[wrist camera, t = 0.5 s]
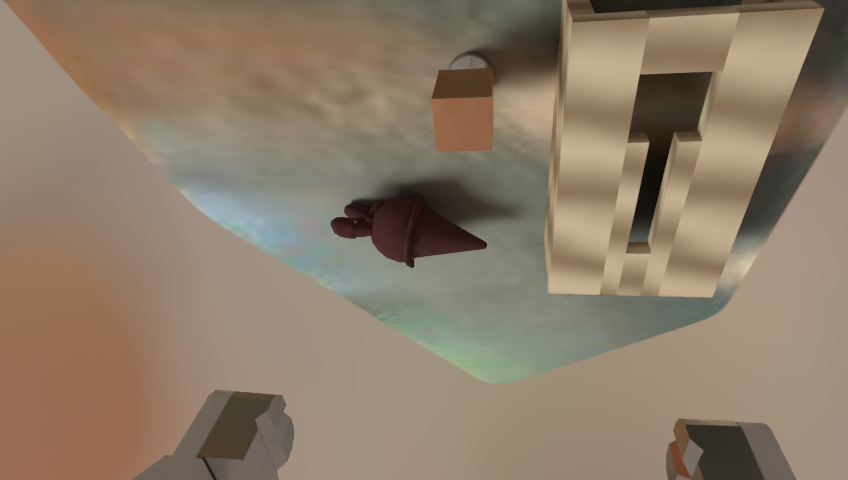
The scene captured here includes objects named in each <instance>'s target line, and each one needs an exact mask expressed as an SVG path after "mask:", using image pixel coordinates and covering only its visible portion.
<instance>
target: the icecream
mask: <svg viewBox="0 0 848 480" xmlns="http://www.w3.org/2000/svg"><path fill="white" fill-rule="evenodd" d="M344 211H345V214H346V215H347V217H348V218H346V217H337V218H335V219H333V220H332V221H331V227H332V229H333V231H334V233H335V234H337V235H339V236H340V237H345V238H351V239H355V238H356V237H365V236H371V238H372V242H373V244H374V245H375V247H376V248H377V249H378V251H379V252H381V253H382V254H383V255H384V256H386V257H387V258H389V259H392V260H395V261H398V262H405V263H406V265H407V266H409V267H411V268H413V267H414V259H415V258H417V257H424V256H432V255H440V254H448V253H455V252H463V251H471V250H479V249H485V248H486V247H487V243H486V242H485V241H483V240H481V239H480V238H478V237H476V236H474V235H472V234H471V233H469V232H467V231H465V230H464V229H462V228H460V227H459V226H457V225H455V224H453V223H452V222H450V221H448V220H447V219H445V218H443V217H441V216H440V215H438V214H436V213H435V212H433V211H431V210H429V209H428V208H426V207H425V199H424V198H423V196H422V195H420V196H419V197H418V198H417V199H416V198H414V197H405V196H402V195H400V196H397V197H396V198H395V199H391V200H388V201H386V202H383V201H382V200H380V201H376V202H375V203H374V204H373V205H372V206H371V207H367V206H364V205H357V204H349V205H346V206H345V209H344Z"/></svg>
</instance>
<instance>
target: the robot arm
mask: <svg viewBox="0 0 848 480" xmlns="http://www.w3.org/2000/svg"><path fill="white" fill-rule="evenodd" d="M285 407H286V404H285V401H284V399H283V396H282V395H273V394H261V393H249V392H238V391H224V390H215V391H214V392H213V393H211V394H210V395H209V396H208V398H207V399H206V401H205V403H204V404H203V406H202V407H201V409H200V411H199V412H198V414H197V416H196V417H195V419H194V420H193V422H192V424H191V426H190V427H189V429H188V430H187V432H186V434H185V435H184V437H183V439H182V440H181V442H180V443H179V445H178V447H177V448H176V450H175V452H174V453H173V455H165V456H164V457H163V458H161V459H160V460H158V461H157V462H156V463H154V464H153V465H152V466H150V467H149V468H147V469H146V470H145V471H143V472H142V473H141V474H139V475H138V476H136V477H135V478H134V479H132V480H279V477H278V474H277V470H278V469H279V468H280V467H281V466H283V465H284V464H285V463H286V462H287V461H288V458H289V455H290V453H291V450H292V445H293V439H294V428H293V423H292V420H291V418H290V417H289V416H288V415H286V414H285V413H284V412H283V411H284V409H285ZM673 431H674V434H675V438H676V440H675V441H673V442H672V443H670V444H669V446H668V450H667V454H666V471H667V477H668V480H796V478H795V476H794V474H793V472H792V470H791V468H790V466H789V464H788V462H787V460H786V458H785V456H784V454H783V452H782V450H781V448H780V446H779V444H778V442H777V440H776V438H775V436H774V434H773V432H772V430H771V429H770V428H769V427H768V426H767V425H766V424H763V423H746V422H745V423H744V422H733V421H721V420H700V419H678V420H677V421H676V423H675V426H674V429H673Z"/></svg>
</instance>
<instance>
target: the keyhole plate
mask: <svg viewBox="0 0 848 480" xmlns="http://www.w3.org/2000/svg"><path fill="white" fill-rule="evenodd" d="M824 9H825V8H824V7H822V6H821V5H819V4H818V3H816V2H814V1H813V0H742V4H741V5H731V6H714V7H697V8H681V9H664V10H647V11H630V12H614V13H597V14H595V12H594V10H593V8H592V5H591V3H590V1H589V0H562V9H561V22H560V36H559V49H558V63H557V76H556V89H555V103H554V116H553V129H552V143H551V156H550V169H549V183H548V196H547V210H546V223H545V236H544V245H545V257H546V268H547V280H548V292H549V293H553V294H595V295H637V296H678V297H713V294H714V292H715V289H716V286H717V284H718V281H719V279H720V276H721V274H722V271H723V269H724V266H725V263H726V261H727V258H728V256H729V253H730V251H731V248H732V245H733V243H734V240H735V238H736V235H737V233H738V230H739V227H740V225H741V222H742V220H743V217H744V215H745V212H746V209H747V207H748V204H749V202H750V199H751V197H752V194H753V191H754V189H755V186H756V184H757V181H758V179H759V176H760V173H761V171H762V168H763V166H764V163H765V161H766V158H767V155H768V153H769V150H770V148H771V145H772V143H773V140H774V137H775V135H776V132H777V130H778V127H779V125H780V122H781V119H782V117H783V114H784V112H785V109H786V107H787V104H788V101H789V99H790V96H791V94H792V91H793V89H794V86H795V83H796V81H797V78H798V76H799V73H800V71H801V68H802V65H803V63H804V60H805V58H806V55H807V53H808V50H809V47H810V45H811V42H812V40H813V37H814V35H815V32H816V29H817V27H818V24H819V22H820V19H821V17H822V14H823V11H824ZM689 72H713V73H712V77H711V81H710V84H709V88H708V92H707V95H706V99H705V102H704V106H703V110H702V113H701V117H700V120H699V124H698V128H697V131H677V132H674V135H673V139H672V143H671V147H670V151H669V155H668V159H667V163H666V168H665V172H664V176H663V180H662V184H661V188H660V192H659V196H658V200H657V204H656V208H655V212H654V216H653V220H652V225H651V229H650V233H649V237H648V241H647V242H628V241H629V236H630V231H631V227H632V222H633V217H634V213H635V208H636V203H637V199H638V194H639V189H640V185H641V180H642V175H643V171H644V166H645V161H646V157H647V152H648V147H649V143H650V142H649V140H648V138H647V135H646V133H645V132H635V133H629V130H630V125H631V120H632V114H633V109H634V103H635V98H636V92H637V87H638V81H639V76H640V74H664V73H689Z"/></svg>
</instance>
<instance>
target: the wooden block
mask: <svg viewBox="0 0 848 480" xmlns="http://www.w3.org/2000/svg"><path fill="white" fill-rule="evenodd" d="M432 108H433V119H434V130H435V142H436V151H467V150H492V139H493V68H491V66H490V64H489V62H488V61H487V59H486V58H485V57H483V56H482V55H480V54H478V53H474V52H467V53H463V54H460V55H459V56H457V57H456V58H455V59H454V60H453V61H452V63H451V64H450V67H449V70H439V73H438V77H437V81H436V85H435V88H434V92H433V96H432Z"/></svg>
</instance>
